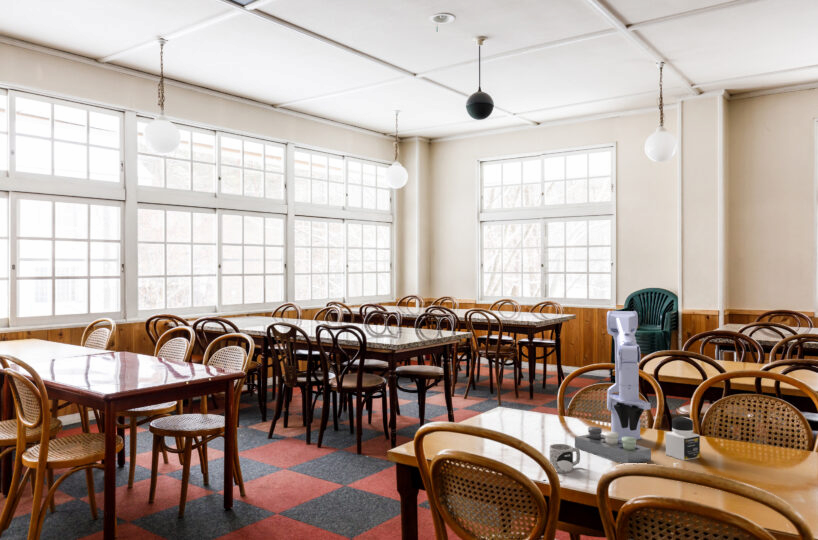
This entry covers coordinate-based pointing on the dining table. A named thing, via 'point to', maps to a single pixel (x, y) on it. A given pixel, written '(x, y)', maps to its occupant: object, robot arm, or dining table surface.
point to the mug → (563, 457)
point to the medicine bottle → (682, 440)
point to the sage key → (629, 443)
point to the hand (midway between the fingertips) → (628, 428)
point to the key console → (613, 450)
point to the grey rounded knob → (595, 433)
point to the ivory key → (611, 438)
